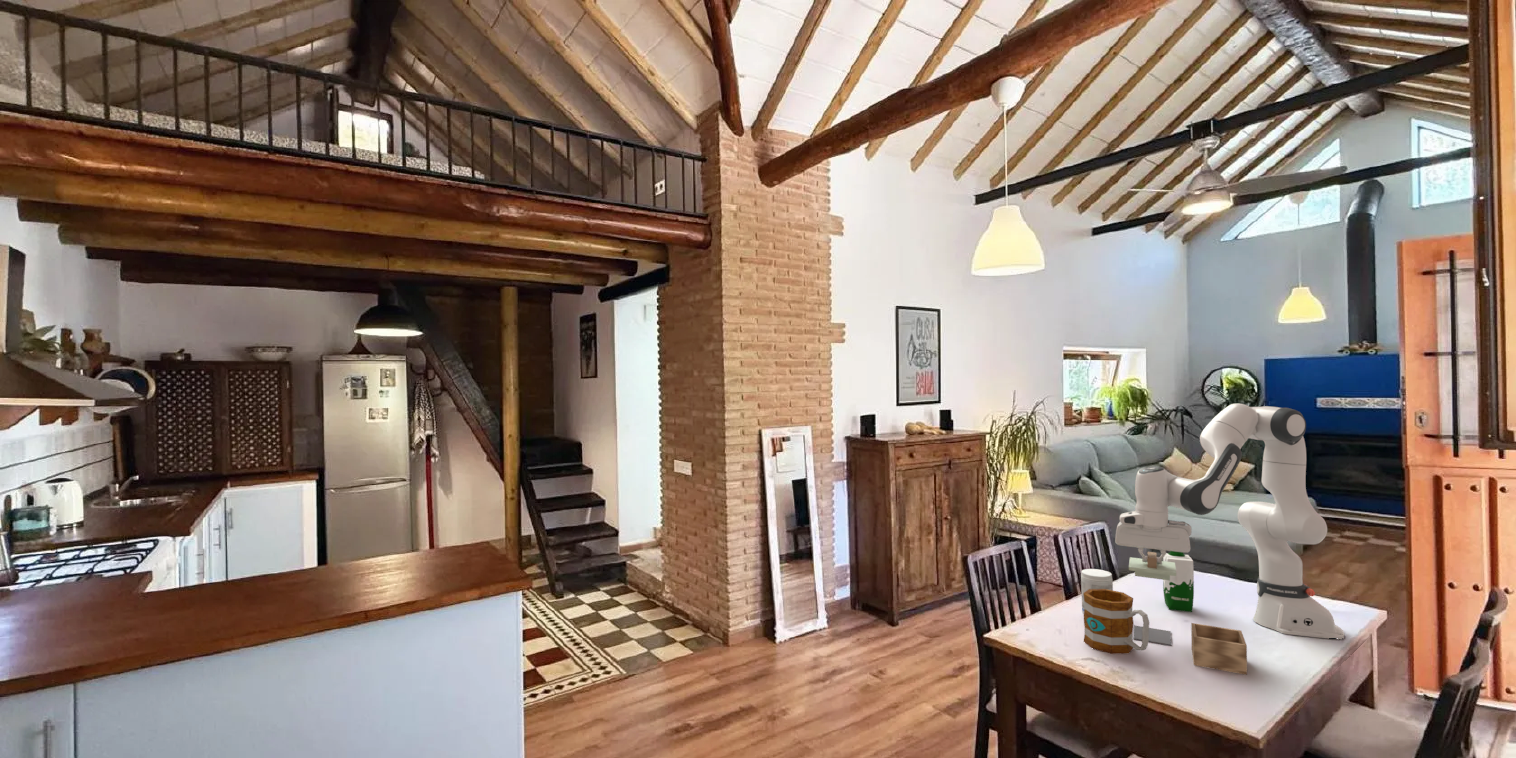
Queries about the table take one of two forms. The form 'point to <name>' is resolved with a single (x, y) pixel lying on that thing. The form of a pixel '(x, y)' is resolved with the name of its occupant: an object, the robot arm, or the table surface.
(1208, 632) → the crate
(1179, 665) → the table surface
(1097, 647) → the mug
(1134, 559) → the lid
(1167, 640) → the mat
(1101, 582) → the supplement tub
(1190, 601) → the milk carton
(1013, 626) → the table surface
